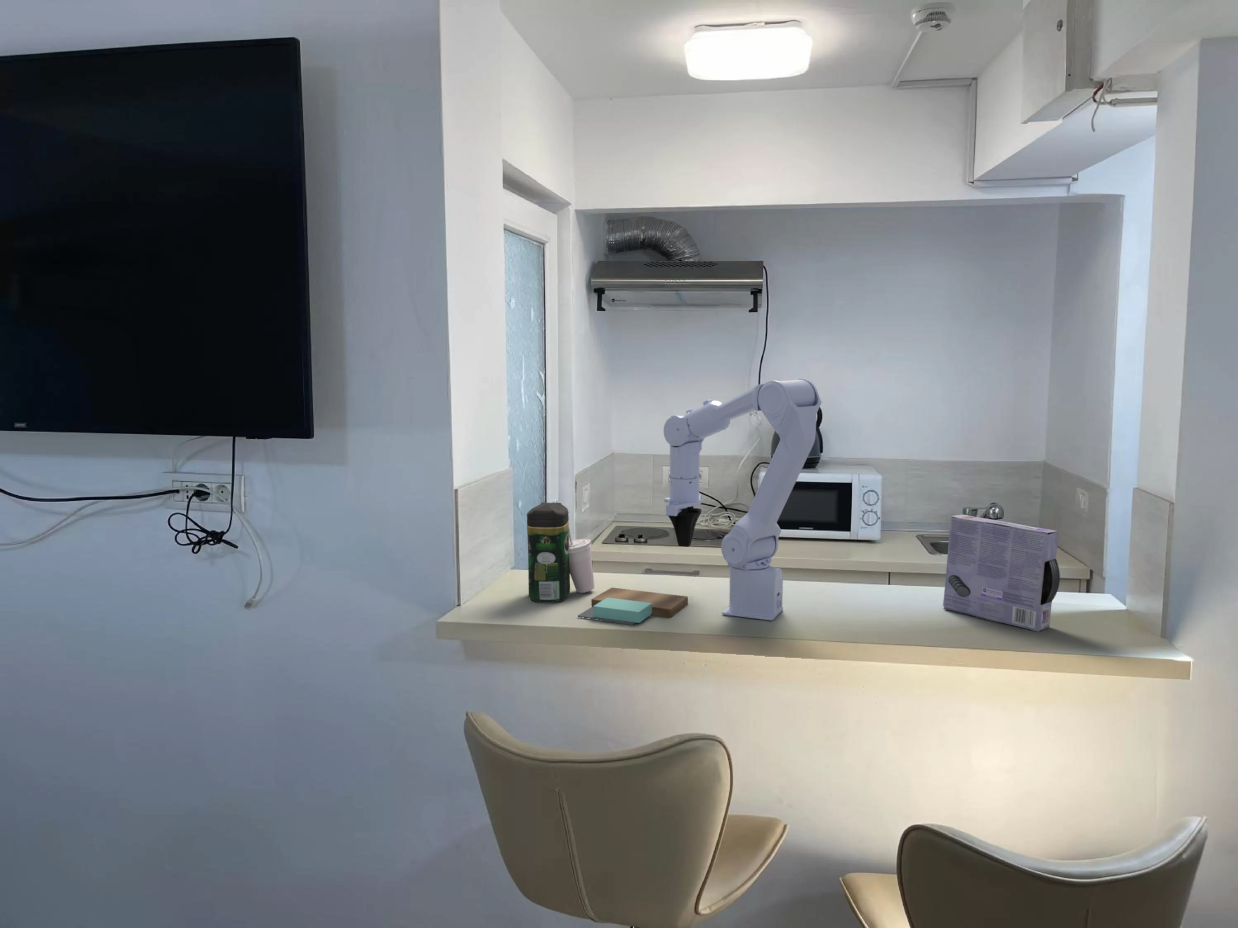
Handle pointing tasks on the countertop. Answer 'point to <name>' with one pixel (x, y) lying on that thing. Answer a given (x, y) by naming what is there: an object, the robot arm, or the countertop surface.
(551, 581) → the coffee jar
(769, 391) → the robot arm
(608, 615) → the teal rectangular block
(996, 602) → the cake pan box
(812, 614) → the countertop surface
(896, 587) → the countertop surface
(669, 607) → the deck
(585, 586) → the smoothie
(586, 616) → the mat
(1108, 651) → the countertop surface
